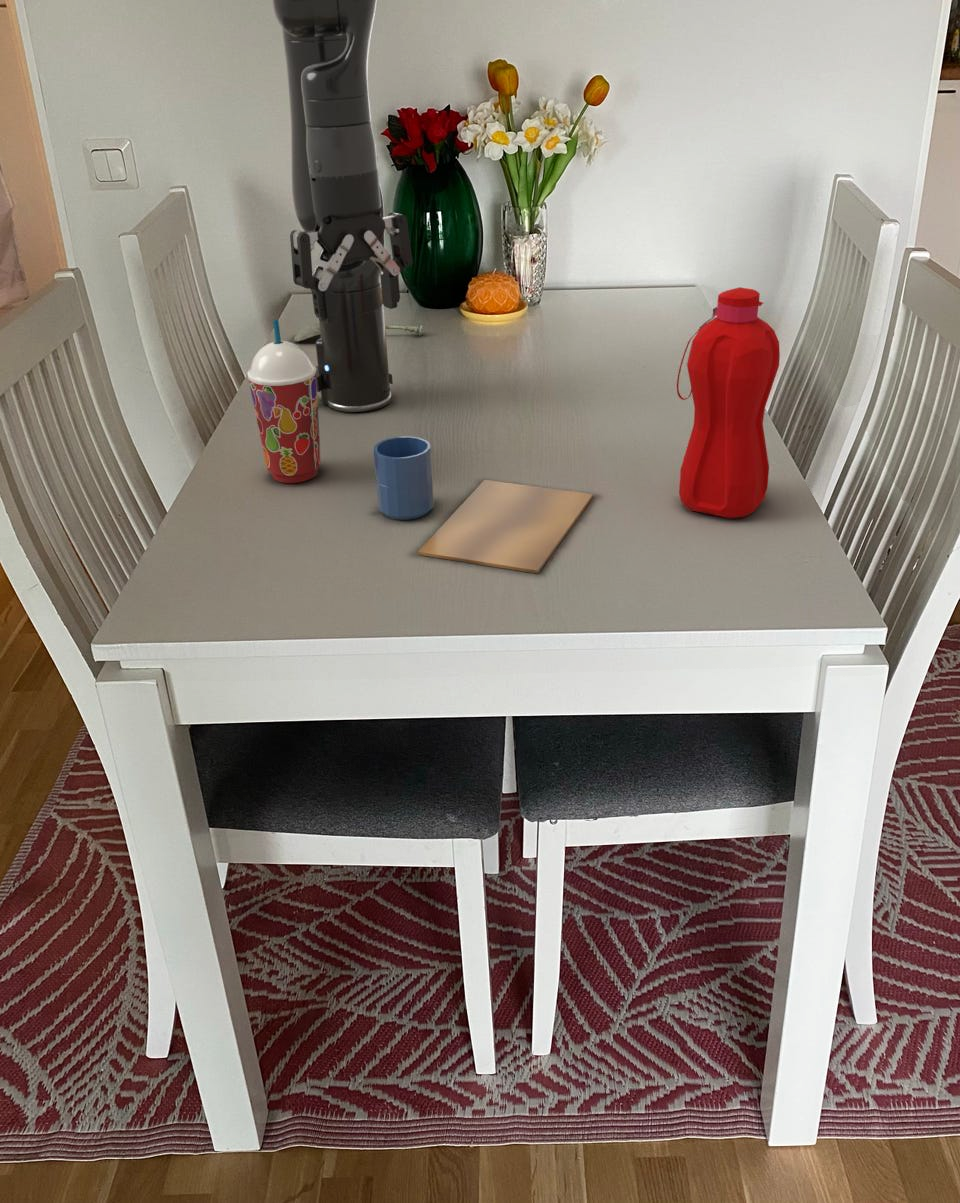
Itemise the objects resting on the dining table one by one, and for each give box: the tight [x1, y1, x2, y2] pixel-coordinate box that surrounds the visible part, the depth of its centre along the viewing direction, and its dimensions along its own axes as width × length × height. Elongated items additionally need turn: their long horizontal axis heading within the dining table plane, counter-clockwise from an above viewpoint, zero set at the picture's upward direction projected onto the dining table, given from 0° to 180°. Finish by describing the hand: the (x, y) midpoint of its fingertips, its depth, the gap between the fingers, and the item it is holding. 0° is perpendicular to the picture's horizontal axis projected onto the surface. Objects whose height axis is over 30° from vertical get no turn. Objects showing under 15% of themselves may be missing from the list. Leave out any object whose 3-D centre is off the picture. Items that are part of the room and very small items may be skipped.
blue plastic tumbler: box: [373, 435, 435, 521], centre depth 134 cm, size 6×6×8 cm
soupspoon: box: [293, 321, 423, 343], centre depth 195 cm, size 22×3×7 cm
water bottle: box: [676, 286, 781, 520], centre depth 129 cm, size 9×11×25 cm
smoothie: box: [246, 318, 322, 484], centre depth 141 cm, size 8×8×20 cm
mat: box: [417, 479, 594, 574], centre depth 132 cm, size 14×20×1 cm
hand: (358, 314), depth 134 cm, fingers open, 8 cm apart
